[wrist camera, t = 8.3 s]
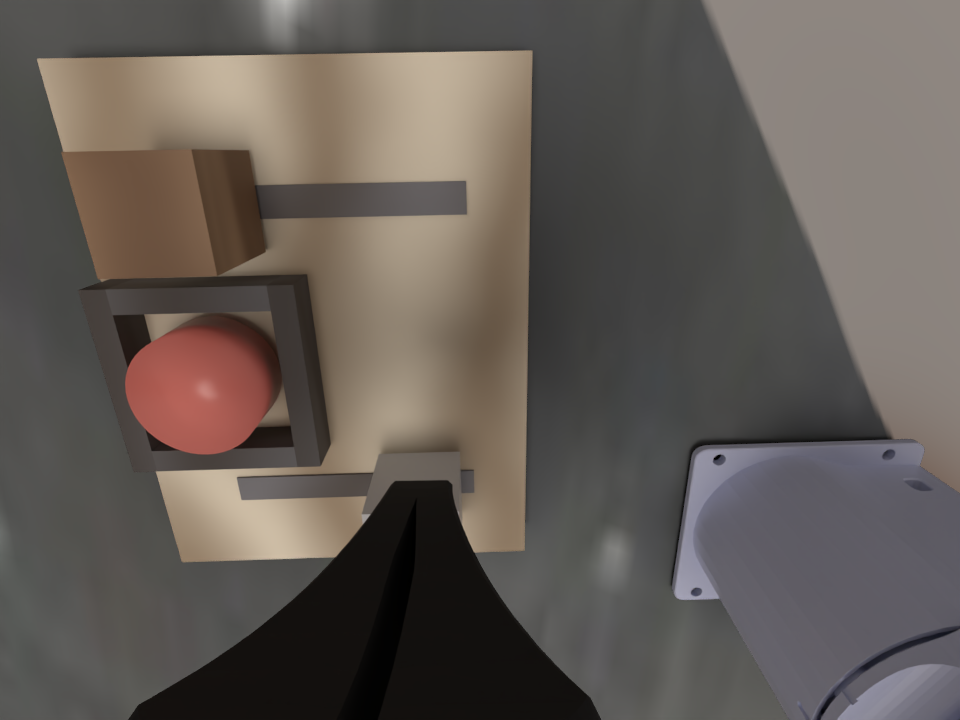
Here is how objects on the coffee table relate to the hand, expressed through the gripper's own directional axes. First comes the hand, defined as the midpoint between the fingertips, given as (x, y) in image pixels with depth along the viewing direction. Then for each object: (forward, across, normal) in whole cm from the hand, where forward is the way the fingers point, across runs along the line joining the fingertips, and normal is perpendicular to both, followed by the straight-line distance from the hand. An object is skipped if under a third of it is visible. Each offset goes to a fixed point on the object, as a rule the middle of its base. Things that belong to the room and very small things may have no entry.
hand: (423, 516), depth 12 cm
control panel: (+9, +4, -2) cm, 10 cm away
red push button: (+7, +7, -1) cm, 10 cm away
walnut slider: (+7, +7, -6) cm, 12 cm away
